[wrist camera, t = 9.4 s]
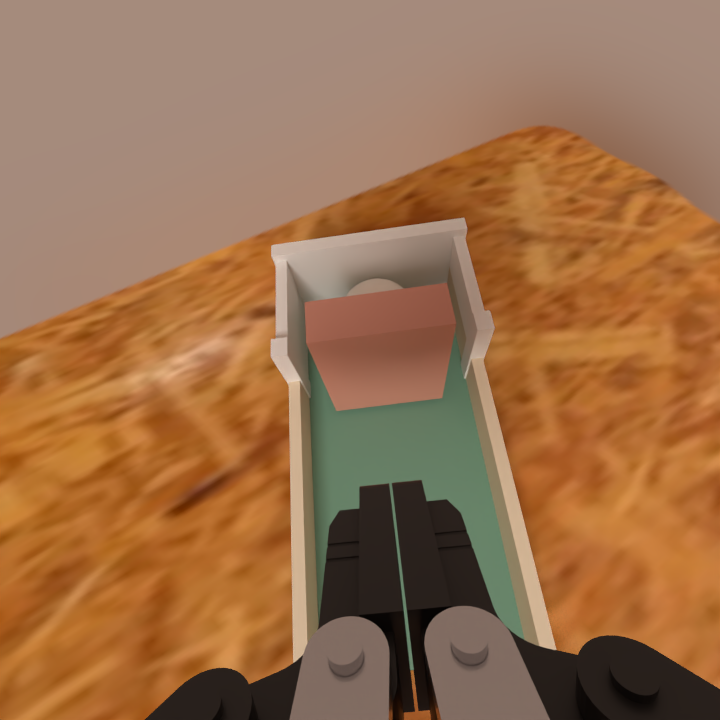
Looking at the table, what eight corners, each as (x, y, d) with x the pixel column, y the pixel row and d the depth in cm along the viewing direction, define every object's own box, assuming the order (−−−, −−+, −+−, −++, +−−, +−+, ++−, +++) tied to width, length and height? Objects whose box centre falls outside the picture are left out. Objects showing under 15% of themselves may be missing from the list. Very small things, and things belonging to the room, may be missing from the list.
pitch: (541, 653, 19) (566, 669, 16) (307, 675, 20) (288, 694, 17) (454, 289, 29) (460, 254, 26) (297, 310, 29) (283, 278, 26)
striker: (442, 398, 24) (456, 323, 17) (336, 411, 24) (306, 343, 17) (435, 366, 25) (446, 282, 18) (334, 379, 25) (304, 302, 18)
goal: (477, 376, 25) (494, 328, 20) (297, 399, 25) (270, 357, 20) (454, 280, 28) (464, 217, 23) (295, 301, 28) (271, 245, 23)
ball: (317, 289, 23) (331, 355, 26) (376, 308, 21) (386, 379, 23) (370, 261, 26) (378, 323, 28) (429, 274, 23) (433, 342, 26)
